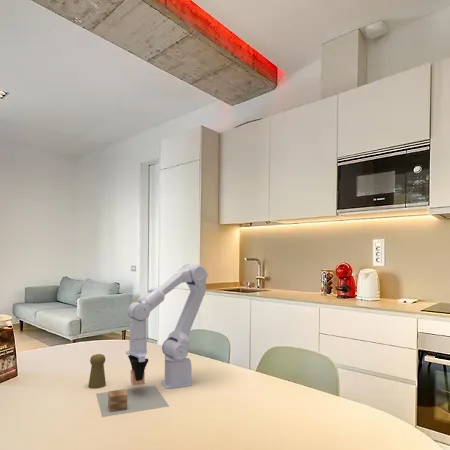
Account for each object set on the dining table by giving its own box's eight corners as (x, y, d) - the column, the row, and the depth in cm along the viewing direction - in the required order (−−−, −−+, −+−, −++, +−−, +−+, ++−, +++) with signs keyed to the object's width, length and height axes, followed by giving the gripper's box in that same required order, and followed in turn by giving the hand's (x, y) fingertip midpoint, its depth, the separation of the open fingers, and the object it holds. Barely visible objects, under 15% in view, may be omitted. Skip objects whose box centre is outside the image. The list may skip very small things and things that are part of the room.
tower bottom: (124, 403, 121) (124, 396, 121) (127, 409, 116) (127, 402, 116) (108, 406, 119) (108, 398, 119) (110, 412, 114) (110, 404, 114)
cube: (142, 380, 134) (142, 368, 134) (144, 383, 130) (144, 371, 130) (130, 382, 132) (130, 370, 132) (132, 385, 128) (132, 373, 129)
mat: (154, 386, 137) (154, 385, 137) (169, 406, 119) (169, 406, 119) (96, 394, 129) (96, 393, 129) (102, 417, 111) (102, 416, 111)
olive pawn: (100, 389, 133) (101, 357, 134) (84, 388, 135) (85, 356, 135) (109, 383, 139) (109, 353, 140) (93, 382, 141) (94, 352, 141)
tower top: (124, 396, 121) (124, 389, 121) (127, 402, 116) (127, 394, 117) (108, 398, 119) (108, 391, 119) (110, 404, 114) (110, 397, 115)
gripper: (123, 334, 137) (122, 373, 136) (129, 343, 124) (129, 386, 123) (142, 332, 140) (142, 370, 139) (151, 341, 127) (151, 383, 126)
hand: (137, 378), depth 131 cm, fingers closed on cube, 4 cm apart
